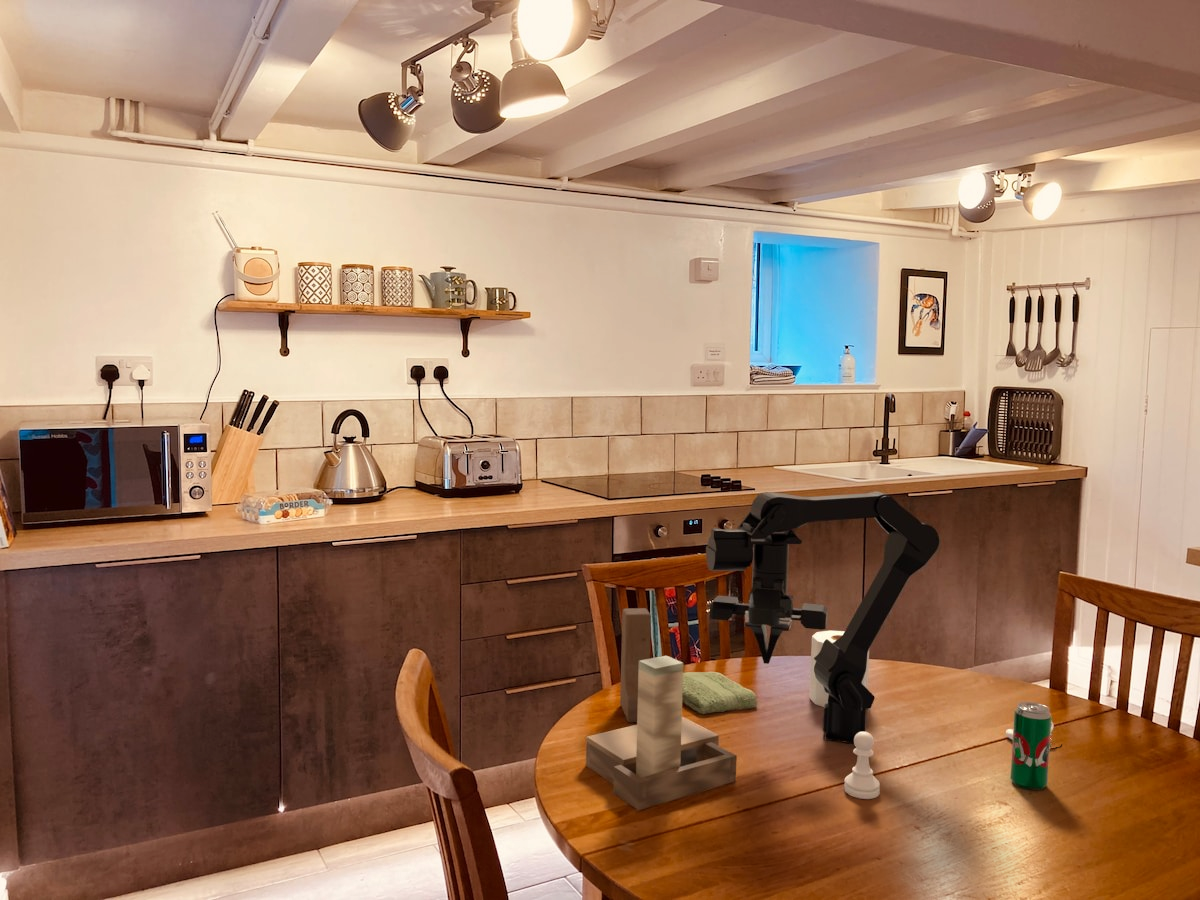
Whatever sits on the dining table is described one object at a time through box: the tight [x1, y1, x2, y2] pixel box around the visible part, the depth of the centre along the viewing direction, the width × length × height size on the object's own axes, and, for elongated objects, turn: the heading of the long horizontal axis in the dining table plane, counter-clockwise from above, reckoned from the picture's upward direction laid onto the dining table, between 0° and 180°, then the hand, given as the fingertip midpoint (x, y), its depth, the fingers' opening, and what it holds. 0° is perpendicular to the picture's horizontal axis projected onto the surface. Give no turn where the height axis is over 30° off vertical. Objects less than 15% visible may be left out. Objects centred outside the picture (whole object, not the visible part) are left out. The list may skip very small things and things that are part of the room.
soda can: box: [1010, 701, 1053, 791], centre depth 141 cm, size 5×5×12 cm
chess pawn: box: [843, 731, 881, 800], centre depth 137 cm, size 5×5×9 cm
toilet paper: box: [809, 630, 870, 708], centre depth 175 cm, size 10×10×12 cm
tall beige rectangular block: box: [636, 655, 684, 778], centre depth 136 cm, size 5×4×19 cm
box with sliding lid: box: [585, 715, 737, 811], centre depth 142 cm, size 20×16×5 cm
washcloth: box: [682, 671, 758, 715], centre depth 176 cm, size 13×18×3 cm
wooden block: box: [619, 607, 652, 724], centre depth 166 cm, size 9×4×18 cm, turn 7°
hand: (766, 663), depth 155 cm, fingers closed
